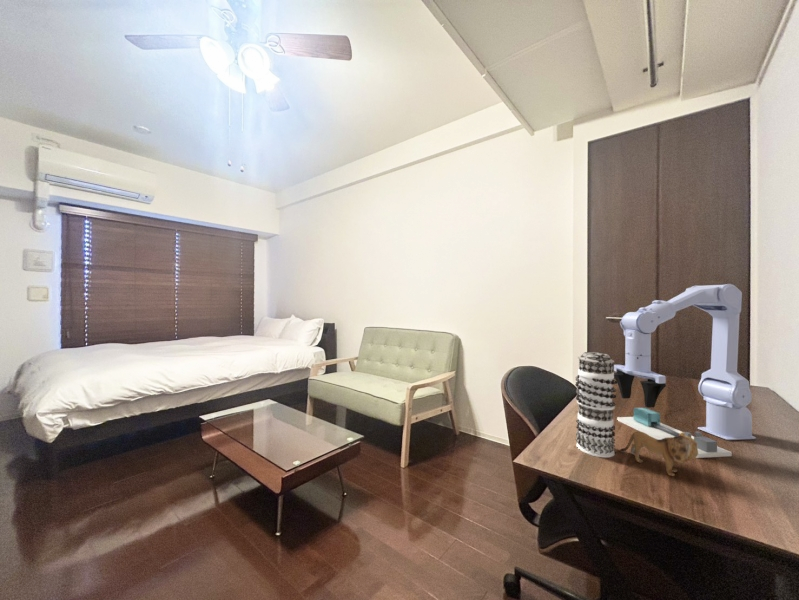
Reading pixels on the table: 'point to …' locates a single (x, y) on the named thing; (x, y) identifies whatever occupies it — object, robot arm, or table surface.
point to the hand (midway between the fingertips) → (637, 402)
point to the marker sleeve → (646, 416)
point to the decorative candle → (595, 405)
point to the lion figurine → (664, 448)
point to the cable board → (662, 431)
